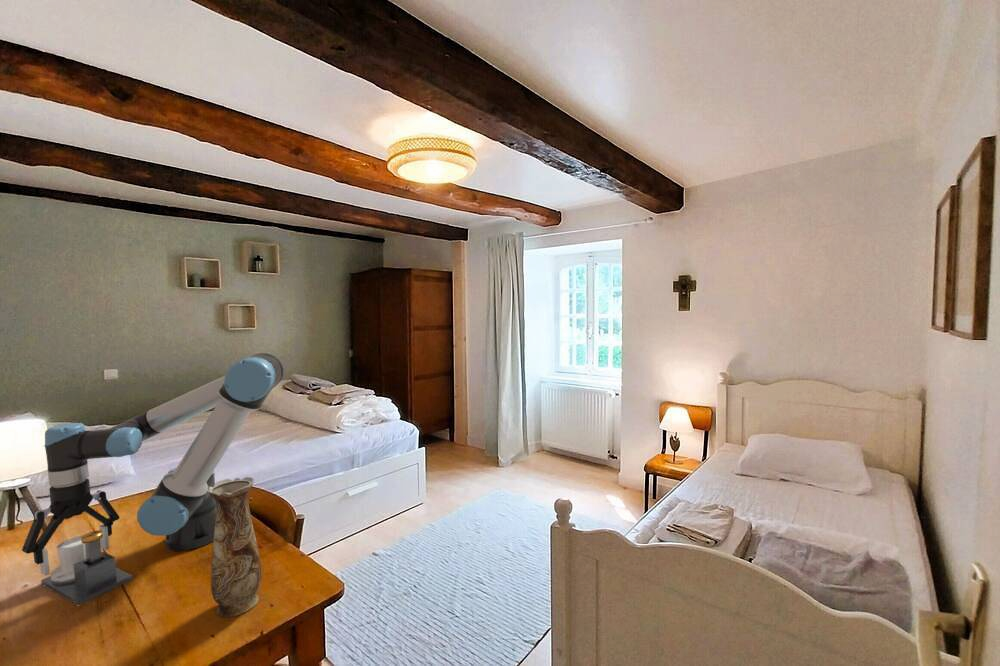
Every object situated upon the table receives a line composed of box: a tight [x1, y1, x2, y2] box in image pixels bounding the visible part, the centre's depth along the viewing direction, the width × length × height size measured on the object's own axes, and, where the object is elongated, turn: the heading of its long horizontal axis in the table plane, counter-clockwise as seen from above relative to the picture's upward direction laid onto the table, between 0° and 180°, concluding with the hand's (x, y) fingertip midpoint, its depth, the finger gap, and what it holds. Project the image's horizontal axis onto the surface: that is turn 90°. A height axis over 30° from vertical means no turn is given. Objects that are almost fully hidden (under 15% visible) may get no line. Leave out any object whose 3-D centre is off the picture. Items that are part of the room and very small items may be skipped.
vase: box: [207, 476, 262, 618], centre depth 103 cm, size 10×11×30 cm
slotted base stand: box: [40, 551, 133, 606], centre depth 113 cm, size 20×11×7 cm, turn 65°
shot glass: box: [56, 535, 86, 573], centre depth 115 cm, size 7×7×7 cm
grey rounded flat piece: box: [49, 565, 75, 585], centre depth 115 cm, size 10×10×2 cm
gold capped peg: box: [81, 530, 103, 566], centre depth 111 cm, size 4×4×8 cm
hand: (76, 560), depth 115 cm, fingers open, 12 cm apart
